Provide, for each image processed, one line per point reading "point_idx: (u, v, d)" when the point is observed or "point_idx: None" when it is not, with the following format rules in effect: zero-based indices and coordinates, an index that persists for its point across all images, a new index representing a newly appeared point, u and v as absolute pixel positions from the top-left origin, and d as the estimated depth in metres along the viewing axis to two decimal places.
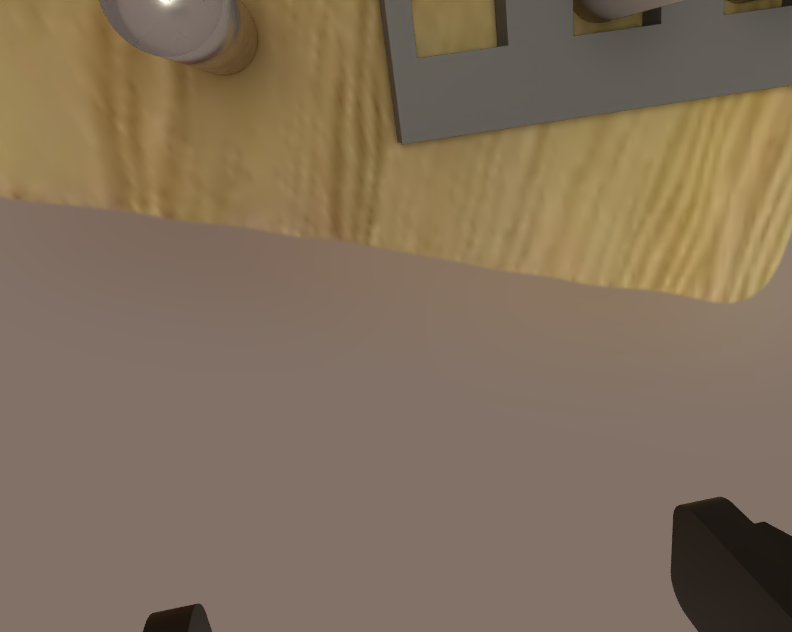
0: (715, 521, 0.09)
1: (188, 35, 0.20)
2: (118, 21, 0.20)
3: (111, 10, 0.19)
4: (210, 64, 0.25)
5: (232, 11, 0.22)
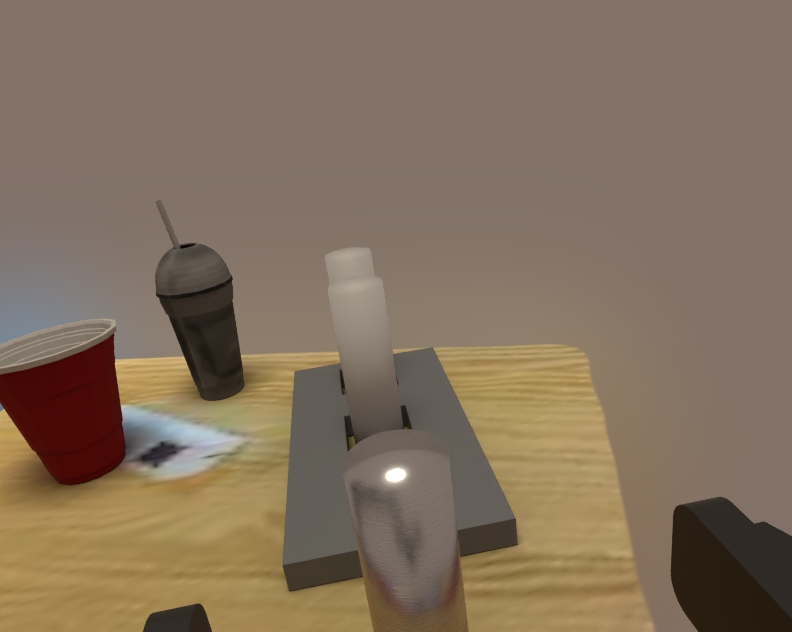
0: (715, 521, 0.09)
1: (429, 443, 0.23)
2: (421, 480, 0.21)
3: (412, 484, 0.20)
4: None
5: None
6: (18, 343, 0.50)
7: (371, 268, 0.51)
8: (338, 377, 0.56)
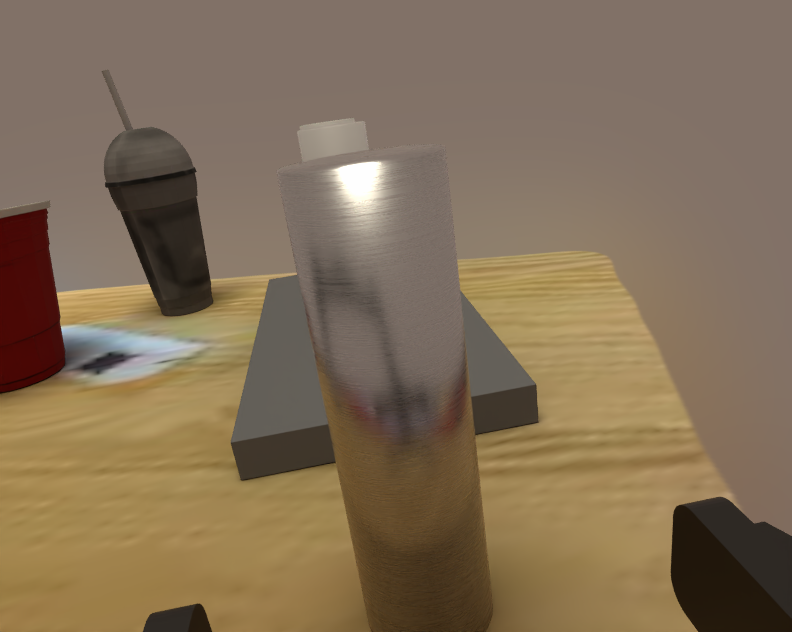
0: (715, 521, 0.09)
1: (415, 147, 0.15)
2: (400, 159, 0.12)
3: (385, 162, 0.12)
4: None
5: None
6: None
7: None
8: None
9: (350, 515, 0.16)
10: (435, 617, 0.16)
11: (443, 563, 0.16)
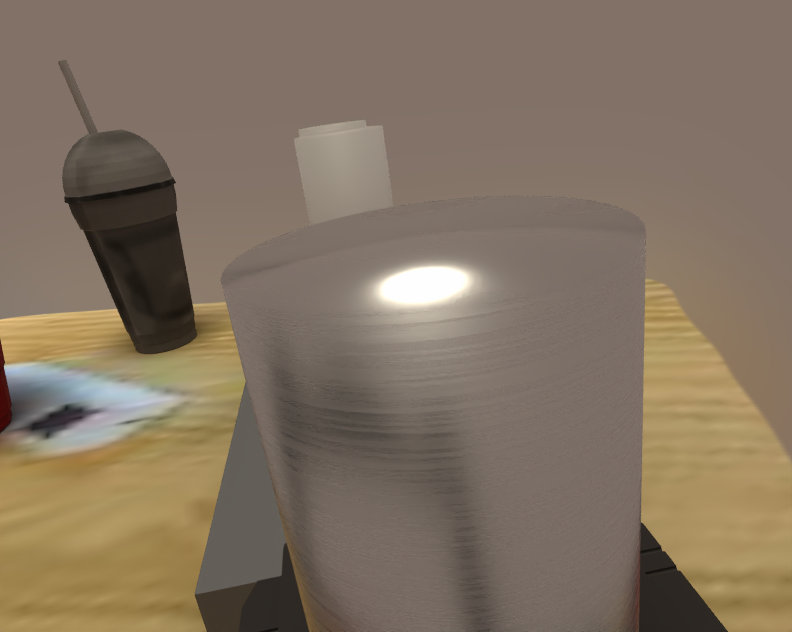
0: None
1: (543, 207, 0.06)
2: (559, 269, 0.04)
3: (520, 281, 0.04)
4: None
5: None
6: None
7: None
8: None
9: None
10: None
11: None
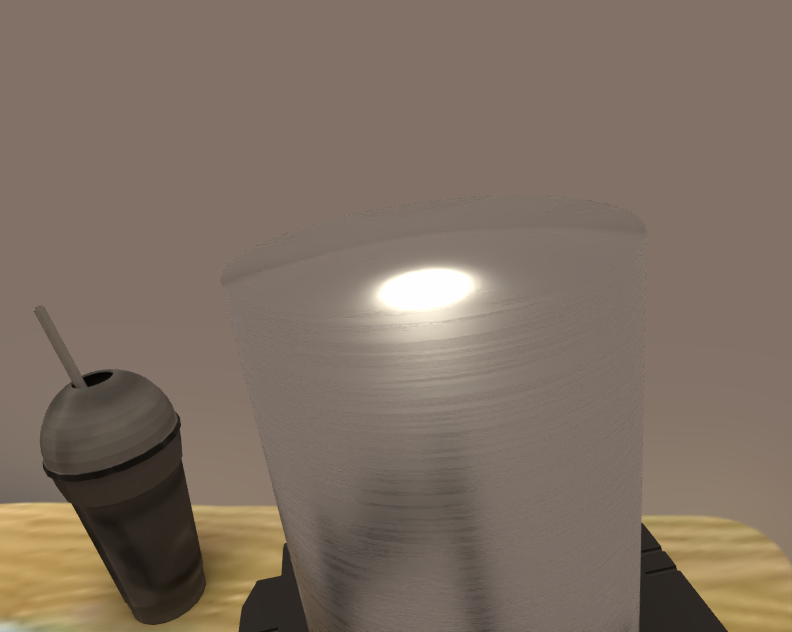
0: None
1: (543, 206, 0.06)
2: (559, 269, 0.04)
3: (520, 281, 0.04)
4: None
5: None
6: None
7: None
8: None
9: None
10: None
11: None
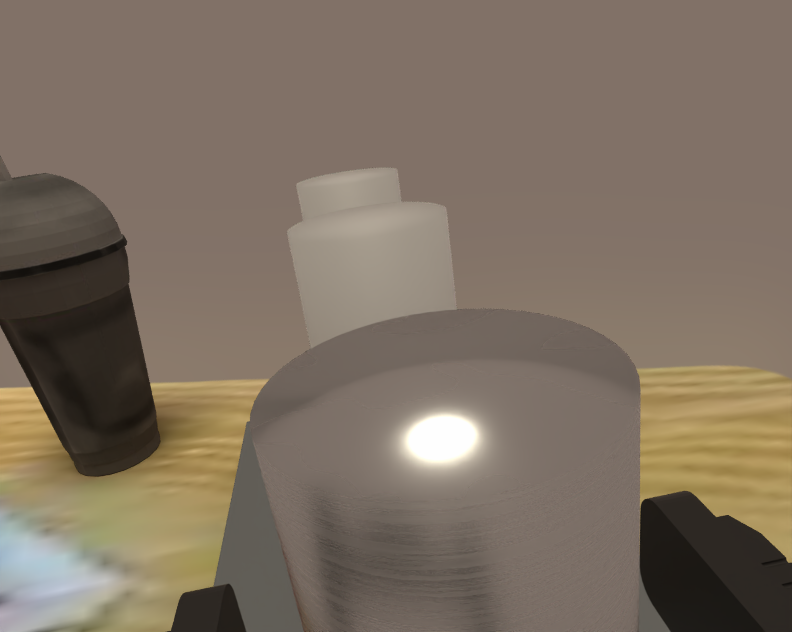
0: (678, 514, 0.09)
1: (545, 334, 0.07)
2: (561, 445, 0.05)
3: (526, 461, 0.05)
4: None
5: None
6: None
7: None
8: None
9: None
10: None
11: None
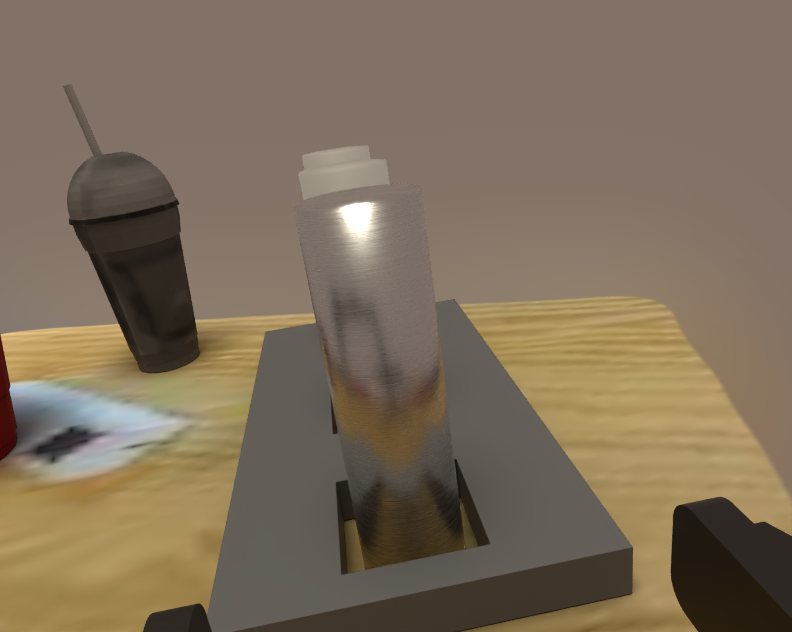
0: (715, 521, 0.09)
1: (399, 187, 0.19)
2: (386, 200, 0.17)
3: (374, 203, 0.17)
4: None
5: None
6: None
7: None
8: None
9: (349, 474, 0.21)
10: (416, 555, 0.21)
11: (422, 510, 0.20)
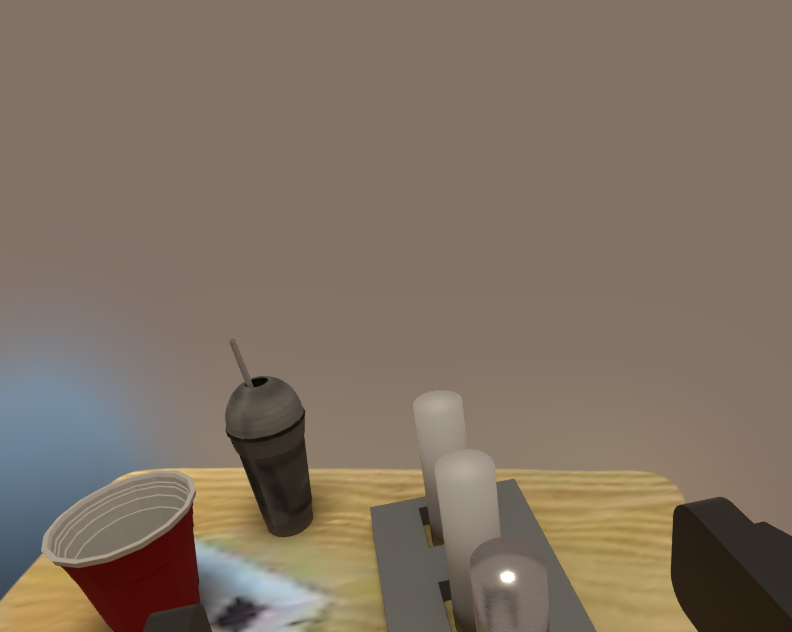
0: (715, 521, 0.09)
1: (529, 551, 0.32)
2: (530, 583, 0.30)
3: (525, 587, 0.29)
4: None
5: None
6: (88, 503, 0.47)
7: (463, 418, 0.48)
8: (420, 520, 0.53)
9: None
10: None
11: None
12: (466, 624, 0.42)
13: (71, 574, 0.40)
